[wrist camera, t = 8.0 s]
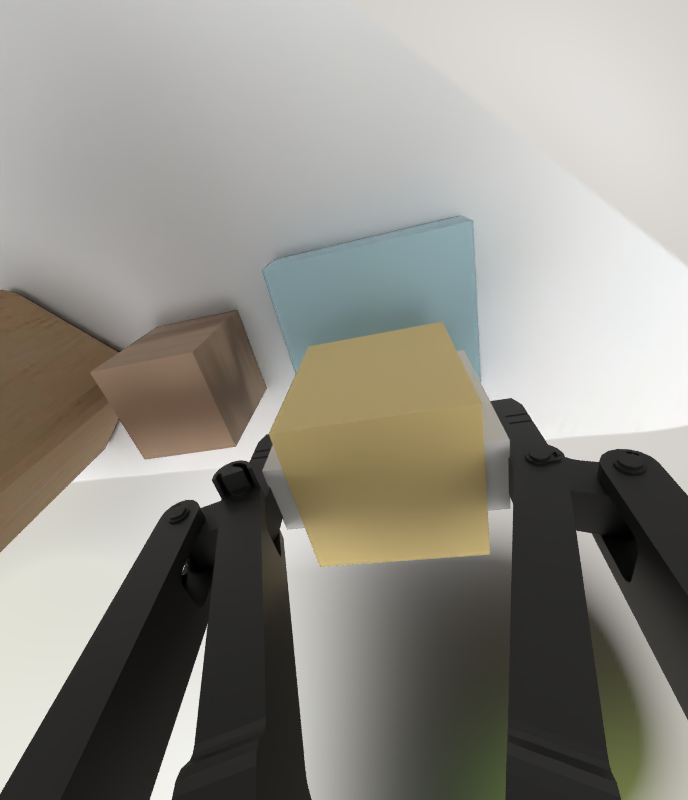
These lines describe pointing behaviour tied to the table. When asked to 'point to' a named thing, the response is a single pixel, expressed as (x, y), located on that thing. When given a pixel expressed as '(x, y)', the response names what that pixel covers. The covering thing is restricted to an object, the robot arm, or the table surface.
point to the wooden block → (45, 409)
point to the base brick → (380, 288)
